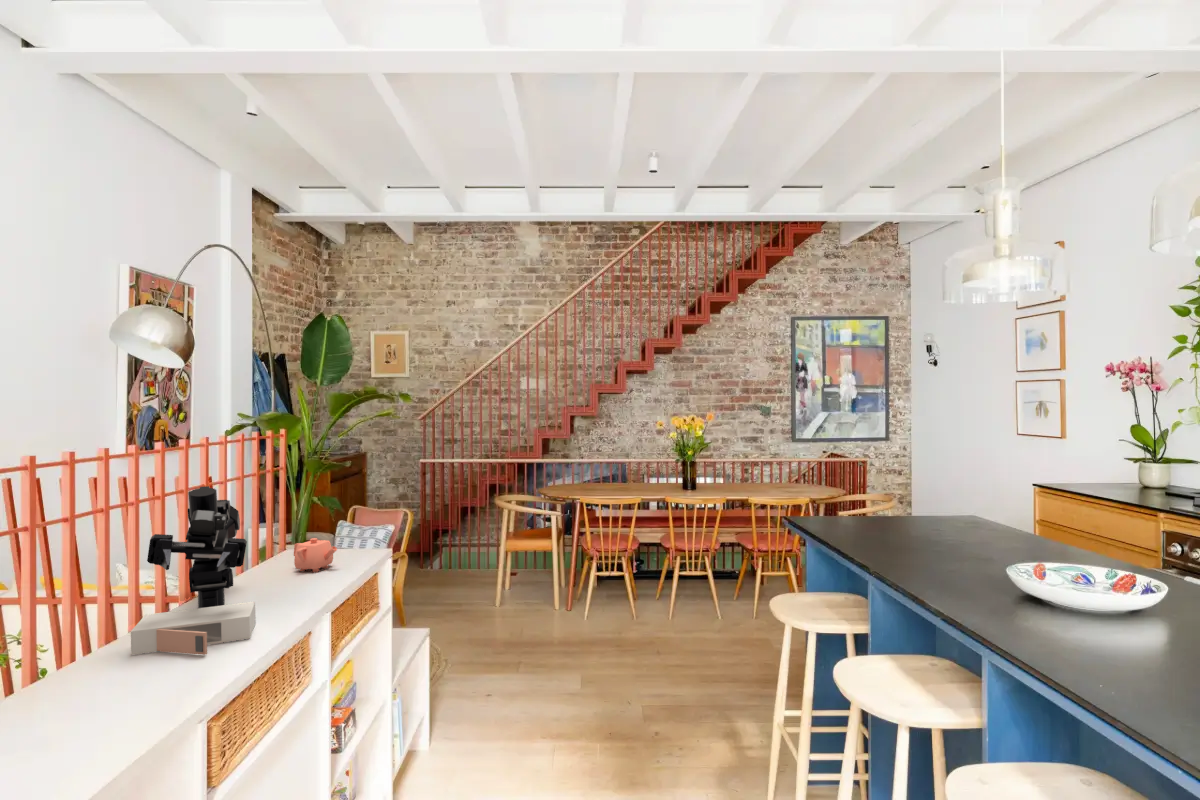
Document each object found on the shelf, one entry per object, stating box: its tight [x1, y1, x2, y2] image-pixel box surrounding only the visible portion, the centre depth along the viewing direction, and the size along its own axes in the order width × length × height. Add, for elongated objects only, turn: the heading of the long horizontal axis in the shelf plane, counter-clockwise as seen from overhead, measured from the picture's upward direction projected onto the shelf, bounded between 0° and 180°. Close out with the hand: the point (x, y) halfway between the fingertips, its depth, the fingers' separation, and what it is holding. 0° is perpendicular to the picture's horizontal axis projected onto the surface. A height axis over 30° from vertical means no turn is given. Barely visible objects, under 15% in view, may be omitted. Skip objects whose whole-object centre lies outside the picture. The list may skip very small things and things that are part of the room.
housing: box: [130, 601, 257, 656], centre depth 147 cm, size 12×22×5 cm, turn 112°
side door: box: [156, 629, 208, 656], centre depth 137 cm, size 1×12×4 cm, turn 77°
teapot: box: [293, 537, 338, 573], centre depth 207 cm, size 12×12×10 cm
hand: (192, 568), depth 141 cm, fingers open, 9 cm apart
